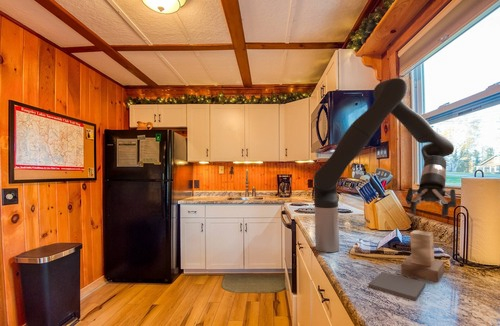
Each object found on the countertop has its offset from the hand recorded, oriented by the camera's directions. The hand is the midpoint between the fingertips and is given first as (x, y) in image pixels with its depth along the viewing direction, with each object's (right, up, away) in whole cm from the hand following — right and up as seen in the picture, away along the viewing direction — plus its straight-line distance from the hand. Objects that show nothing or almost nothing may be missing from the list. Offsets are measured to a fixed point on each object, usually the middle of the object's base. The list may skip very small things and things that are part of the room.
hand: (428, 213), depth 86 cm
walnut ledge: (-7, -16, -8) cm, 20 cm away
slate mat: (-20, -16, -17) cm, 31 cm away
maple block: (-7, -13, -8) cm, 17 cm away
